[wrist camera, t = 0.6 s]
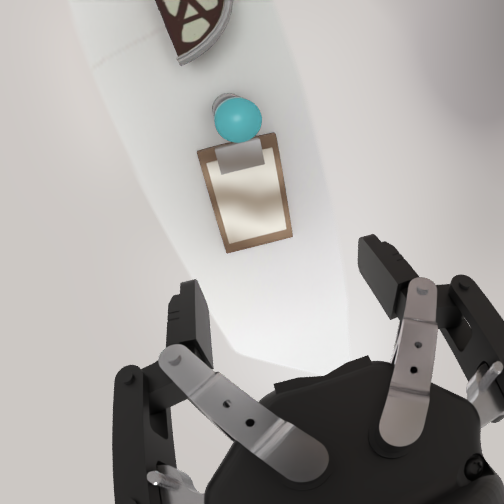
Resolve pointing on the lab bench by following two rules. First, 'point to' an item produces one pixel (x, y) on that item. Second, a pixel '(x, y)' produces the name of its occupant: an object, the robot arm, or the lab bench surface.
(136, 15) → the lab bench surface
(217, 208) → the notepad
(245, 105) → the marker
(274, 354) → the lab bench surface
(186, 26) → the food container
